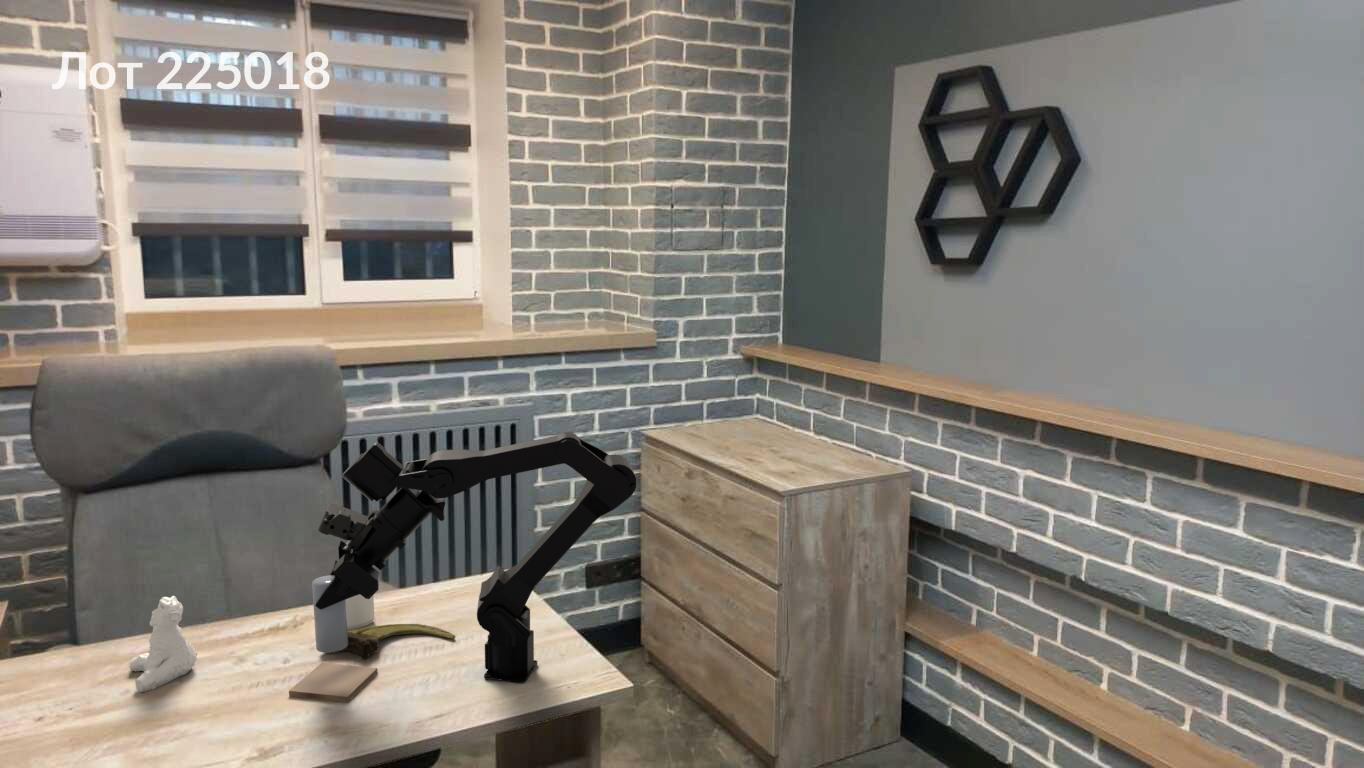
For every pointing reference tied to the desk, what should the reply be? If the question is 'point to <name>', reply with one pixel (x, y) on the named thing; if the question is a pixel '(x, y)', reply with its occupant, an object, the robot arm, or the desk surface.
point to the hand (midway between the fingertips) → (319, 600)
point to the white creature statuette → (164, 648)
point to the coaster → (333, 682)
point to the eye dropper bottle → (359, 611)
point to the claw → (368, 637)
